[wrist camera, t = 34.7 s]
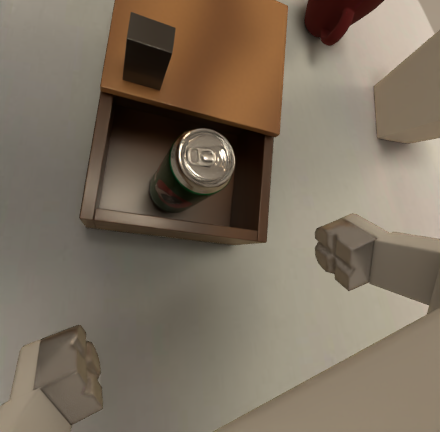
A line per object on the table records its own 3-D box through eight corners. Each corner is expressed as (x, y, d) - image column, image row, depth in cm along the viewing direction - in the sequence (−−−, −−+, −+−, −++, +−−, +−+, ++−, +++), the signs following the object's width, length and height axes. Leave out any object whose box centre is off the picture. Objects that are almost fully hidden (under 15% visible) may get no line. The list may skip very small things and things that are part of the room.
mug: (336, 73, 45) (397, 26, 35) (289, 56, 42) (342, 0, 33) (338, 10, 46) (397, -51, 37) (293, -10, 44) (344, -82, 34)
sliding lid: (100, 91, 24) (99, 44, 19) (125, -57, 26) (130, -136, 21) (275, 137, 30) (313, 111, 24) (284, 11, 32) (320, -39, 26)
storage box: (85, 227, 30) (79, 218, 23) (106, 97, 32) (107, 51, 25) (232, 245, 36) (266, 242, 28) (242, 132, 38) (276, 103, 30)
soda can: (195, 213, 33) (241, 193, 22) (148, 213, 32) (173, 191, 20) (194, 168, 34) (238, 126, 23) (148, 166, 32) (171, 119, 21)
